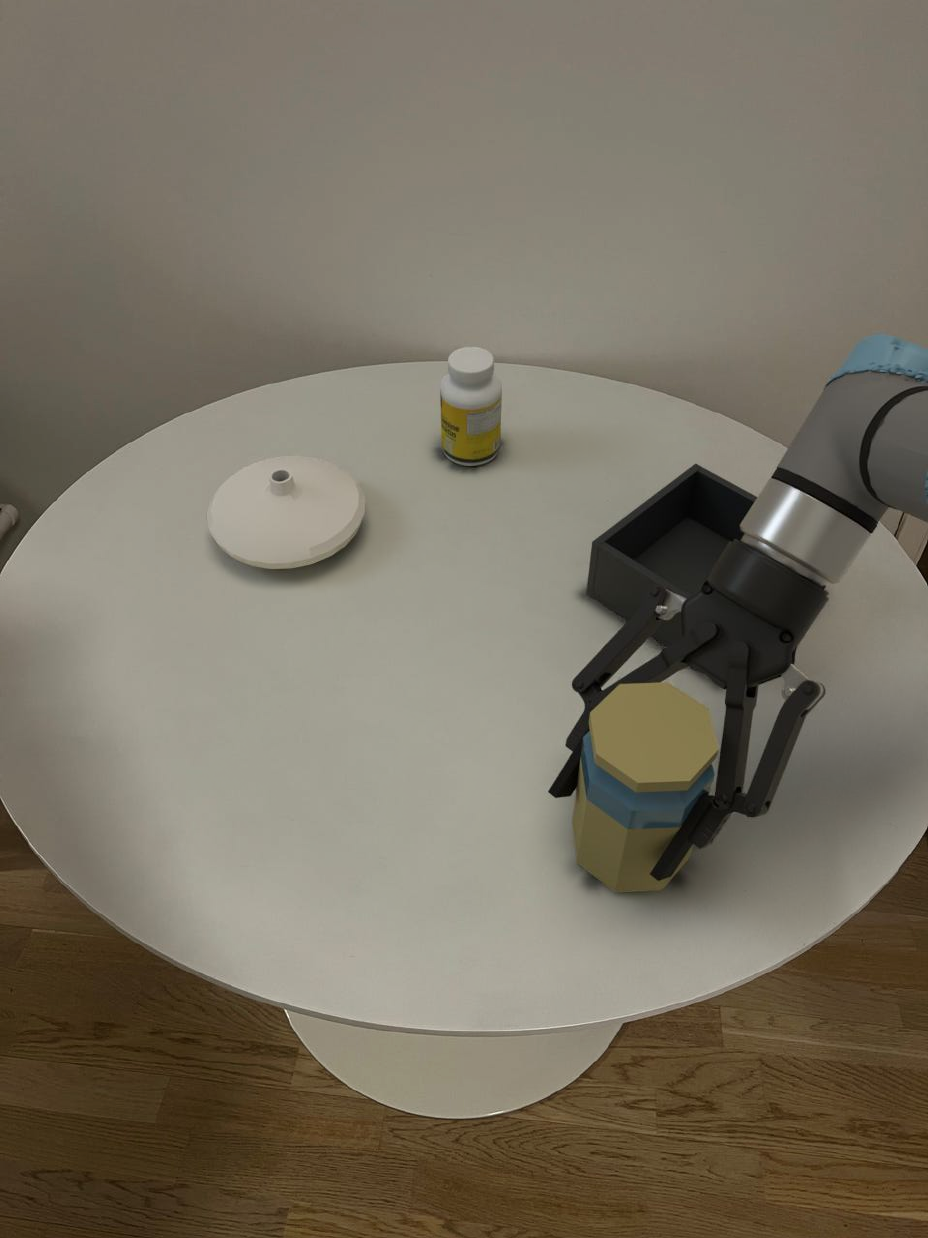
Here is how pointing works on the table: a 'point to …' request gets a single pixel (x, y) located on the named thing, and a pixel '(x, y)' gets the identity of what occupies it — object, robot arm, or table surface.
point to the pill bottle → (470, 407)
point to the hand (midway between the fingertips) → (608, 833)
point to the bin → (667, 544)
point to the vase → (286, 512)
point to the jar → (640, 781)
